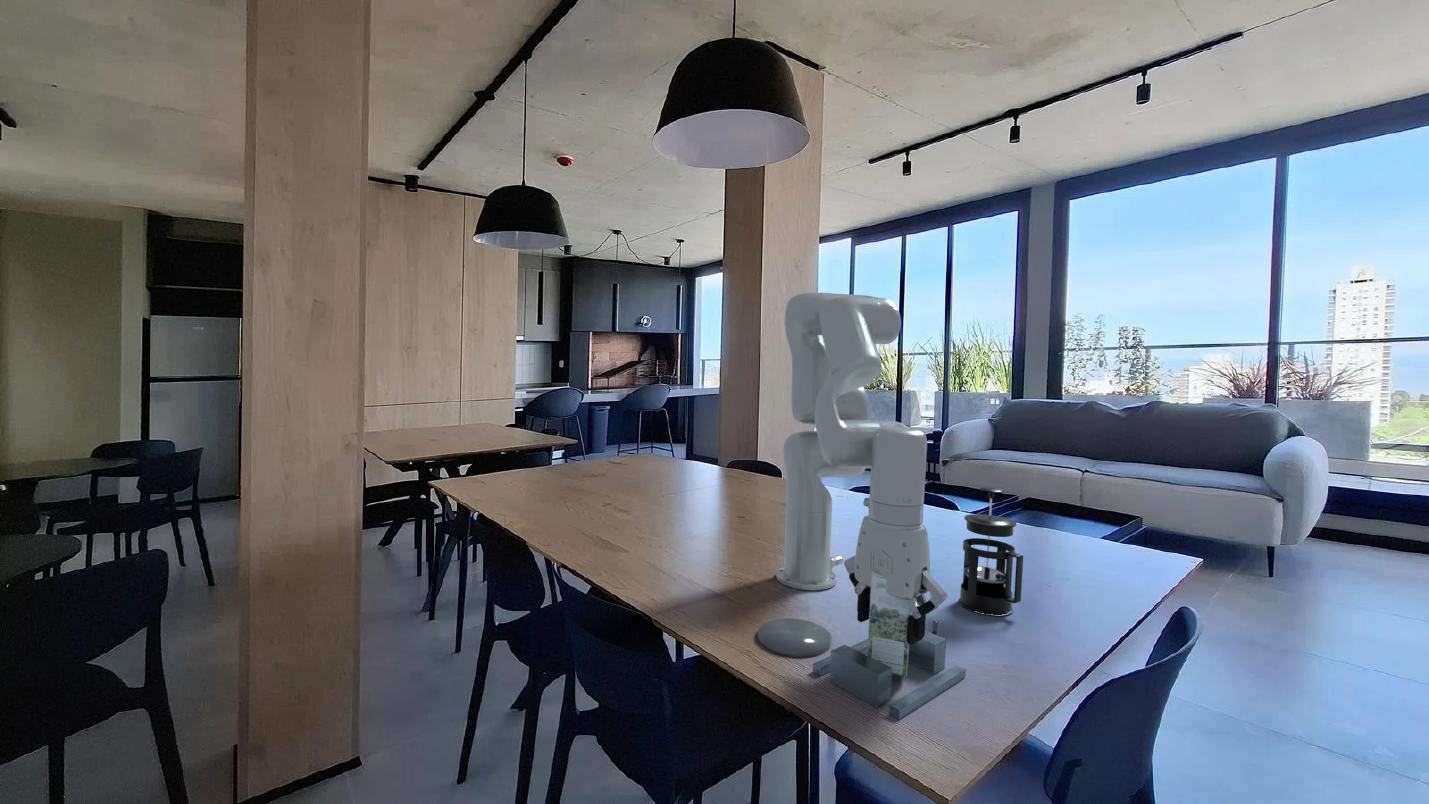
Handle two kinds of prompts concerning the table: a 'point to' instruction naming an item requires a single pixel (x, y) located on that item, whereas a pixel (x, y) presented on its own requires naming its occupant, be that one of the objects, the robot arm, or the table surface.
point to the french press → (986, 583)
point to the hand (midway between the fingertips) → (889, 629)
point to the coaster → (794, 637)
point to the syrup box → (888, 627)
